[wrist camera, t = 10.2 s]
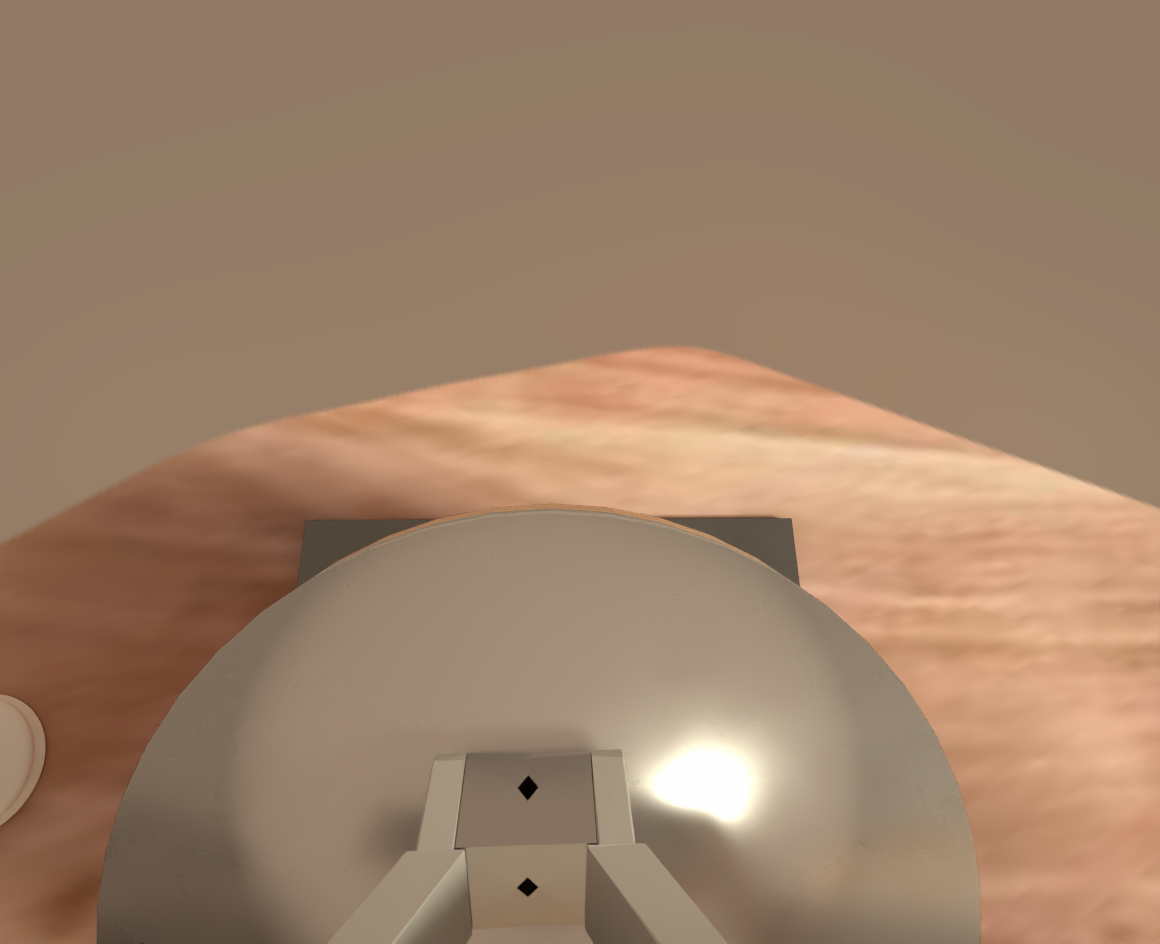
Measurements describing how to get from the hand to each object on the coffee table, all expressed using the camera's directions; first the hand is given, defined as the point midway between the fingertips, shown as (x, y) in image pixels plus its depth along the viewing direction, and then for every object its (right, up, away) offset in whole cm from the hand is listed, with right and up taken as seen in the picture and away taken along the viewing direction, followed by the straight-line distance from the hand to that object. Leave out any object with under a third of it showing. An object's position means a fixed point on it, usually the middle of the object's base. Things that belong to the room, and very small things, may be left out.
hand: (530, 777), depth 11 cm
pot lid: (0, -3, +2) cm, 4 cm away
